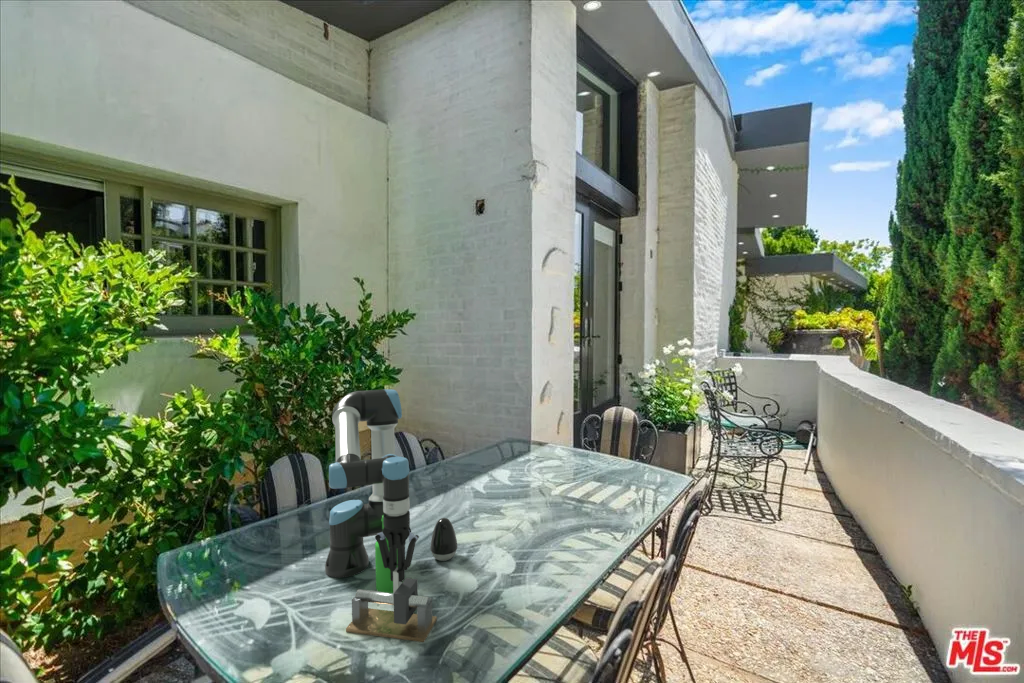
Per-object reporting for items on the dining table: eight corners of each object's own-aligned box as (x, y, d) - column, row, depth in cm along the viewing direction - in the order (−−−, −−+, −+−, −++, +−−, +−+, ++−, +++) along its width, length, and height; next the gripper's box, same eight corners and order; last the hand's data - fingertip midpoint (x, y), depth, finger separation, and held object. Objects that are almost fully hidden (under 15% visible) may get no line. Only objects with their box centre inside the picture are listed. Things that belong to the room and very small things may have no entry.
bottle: (405, 580, 157) (404, 509, 156) (399, 595, 148) (398, 519, 148) (379, 581, 157) (378, 510, 156) (372, 596, 148) (371, 520, 148)
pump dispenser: (432, 566, 166) (431, 525, 166) (429, 553, 176) (428, 514, 176) (459, 562, 169) (458, 522, 169) (455, 549, 179) (454, 511, 179)
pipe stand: (345, 631, 130) (345, 599, 130) (364, 610, 140) (363, 580, 140) (423, 642, 125) (423, 608, 125) (436, 619, 135) (436, 588, 135)
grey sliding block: (394, 623, 128) (393, 593, 128) (406, 605, 136) (406, 577, 136) (405, 624, 127) (405, 595, 127) (417, 606, 136) (417, 579, 135)
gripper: (369, 515, 129) (371, 596, 130) (411, 518, 127) (413, 601, 127) (382, 505, 137) (383, 582, 137) (422, 508, 134) (423, 586, 135)
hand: (397, 591), depth 132 cm, fingers closed
